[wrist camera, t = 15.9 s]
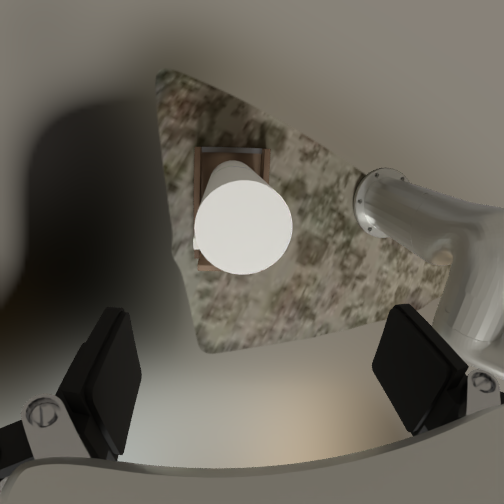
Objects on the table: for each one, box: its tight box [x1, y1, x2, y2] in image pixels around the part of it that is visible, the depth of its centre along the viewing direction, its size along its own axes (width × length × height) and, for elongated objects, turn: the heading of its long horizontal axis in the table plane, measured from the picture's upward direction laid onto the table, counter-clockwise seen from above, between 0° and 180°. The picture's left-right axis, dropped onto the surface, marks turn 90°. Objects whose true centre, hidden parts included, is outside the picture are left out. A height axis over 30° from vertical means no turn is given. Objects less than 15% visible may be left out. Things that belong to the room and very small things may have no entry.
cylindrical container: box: [194, 160, 292, 274], centre depth 33 cm, size 7×7×25 cm
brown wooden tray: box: [194, 147, 271, 271], centre depth 42 cm, size 11×17×9 cm, turn 177°
